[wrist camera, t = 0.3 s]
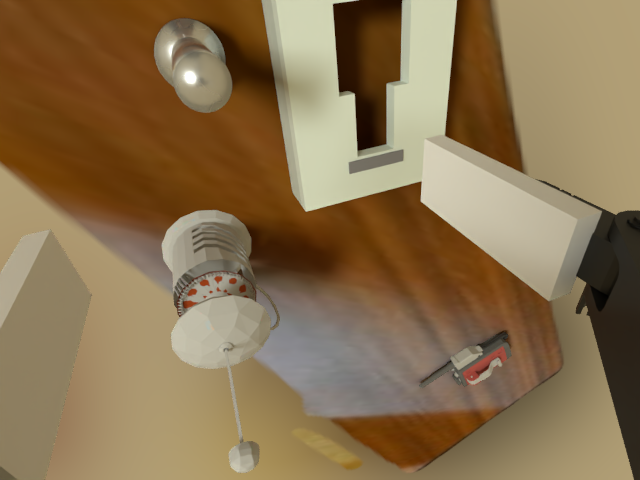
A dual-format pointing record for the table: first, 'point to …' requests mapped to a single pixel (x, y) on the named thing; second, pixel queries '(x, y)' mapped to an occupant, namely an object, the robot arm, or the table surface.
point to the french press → (216, 302)
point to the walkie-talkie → (476, 361)
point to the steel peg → (193, 64)
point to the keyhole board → (339, 107)
